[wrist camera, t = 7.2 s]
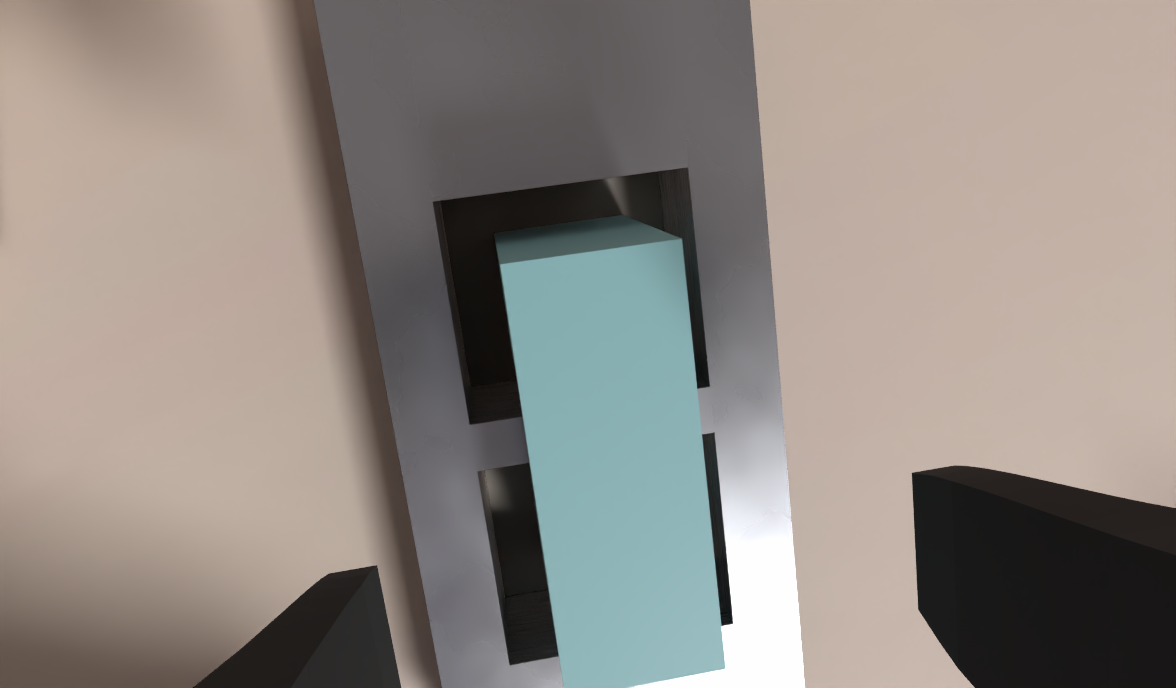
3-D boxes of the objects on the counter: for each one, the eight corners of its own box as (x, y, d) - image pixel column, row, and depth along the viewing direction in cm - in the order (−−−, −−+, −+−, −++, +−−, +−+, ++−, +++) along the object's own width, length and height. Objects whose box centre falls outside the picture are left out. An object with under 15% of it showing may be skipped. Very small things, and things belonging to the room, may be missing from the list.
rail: (769, 689, 23) (811, 766, 20) (470, 747, 22) (469, 835, 20) (704, -27, 19) (744, -60, 16) (337, 14, 18) (311, -12, 16)
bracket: (659, 532, 22) (726, 669, 16) (542, 553, 22) (565, 699, 16) (623, 215, 20) (681, 238, 14) (493, 232, 20) (499, 264, 14)
